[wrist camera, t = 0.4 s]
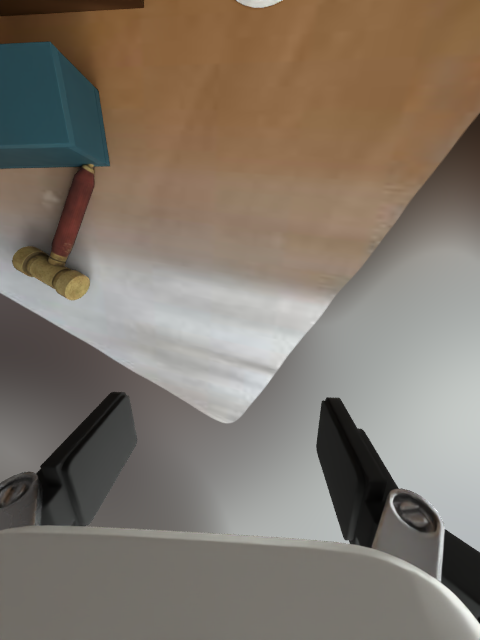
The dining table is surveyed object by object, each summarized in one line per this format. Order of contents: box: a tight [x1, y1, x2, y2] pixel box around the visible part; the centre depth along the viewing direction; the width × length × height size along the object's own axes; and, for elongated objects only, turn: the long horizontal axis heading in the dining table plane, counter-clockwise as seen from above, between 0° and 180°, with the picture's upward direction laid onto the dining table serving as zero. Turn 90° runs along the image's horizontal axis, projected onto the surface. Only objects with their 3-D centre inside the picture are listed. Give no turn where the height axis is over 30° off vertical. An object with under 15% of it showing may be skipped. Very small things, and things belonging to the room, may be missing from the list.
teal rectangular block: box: [0, 42, 110, 169], centre depth 30 cm, size 9×18×8 cm, turn 90°
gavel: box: [12, 164, 95, 300], centre depth 36 cm, size 21×5×10 cm
